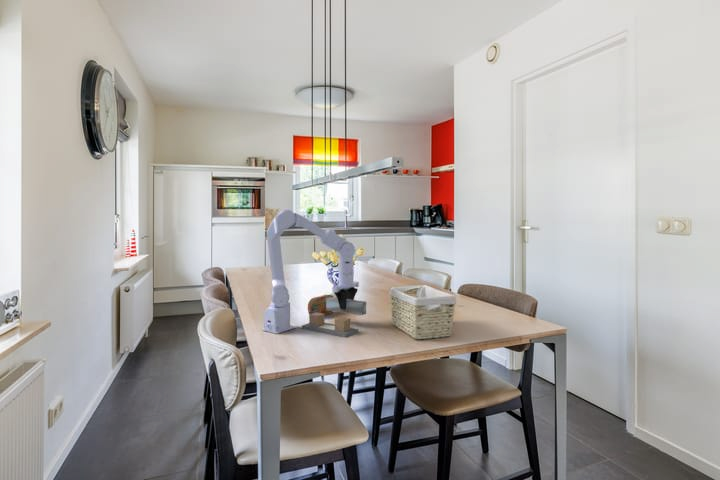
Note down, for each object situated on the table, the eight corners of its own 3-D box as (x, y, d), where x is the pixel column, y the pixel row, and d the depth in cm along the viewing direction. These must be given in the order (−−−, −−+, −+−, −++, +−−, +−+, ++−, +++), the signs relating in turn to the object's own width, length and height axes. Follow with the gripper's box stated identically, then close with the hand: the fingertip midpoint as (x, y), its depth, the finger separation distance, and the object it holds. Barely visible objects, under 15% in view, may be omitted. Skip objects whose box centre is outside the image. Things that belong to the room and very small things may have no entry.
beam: (361, 315, 146) (361, 303, 146) (326, 310, 155) (326, 298, 154) (366, 313, 149) (366, 301, 149) (331, 308, 158) (331, 297, 157)
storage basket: (388, 323, 154) (388, 286, 154) (425, 320, 159) (426, 284, 158) (414, 342, 132) (414, 298, 131) (457, 338, 136) (457, 295, 135)
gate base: (345, 337, 136) (345, 323, 136) (301, 328, 148) (301, 314, 147) (358, 331, 143) (358, 318, 143) (315, 323, 154) (315, 310, 154)
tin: (311, 319, 160) (311, 299, 159) (306, 318, 162) (306, 298, 161) (336, 312, 172) (336, 293, 171) (330, 311, 174) (330, 292, 173)
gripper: (343, 276, 143) (343, 313, 144) (365, 271, 155) (365, 305, 156) (327, 274, 147) (327, 310, 148) (350, 270, 159) (350, 303, 160)
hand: (346, 308), depth 152 cm, fingers closed on beam, 4 cm apart
